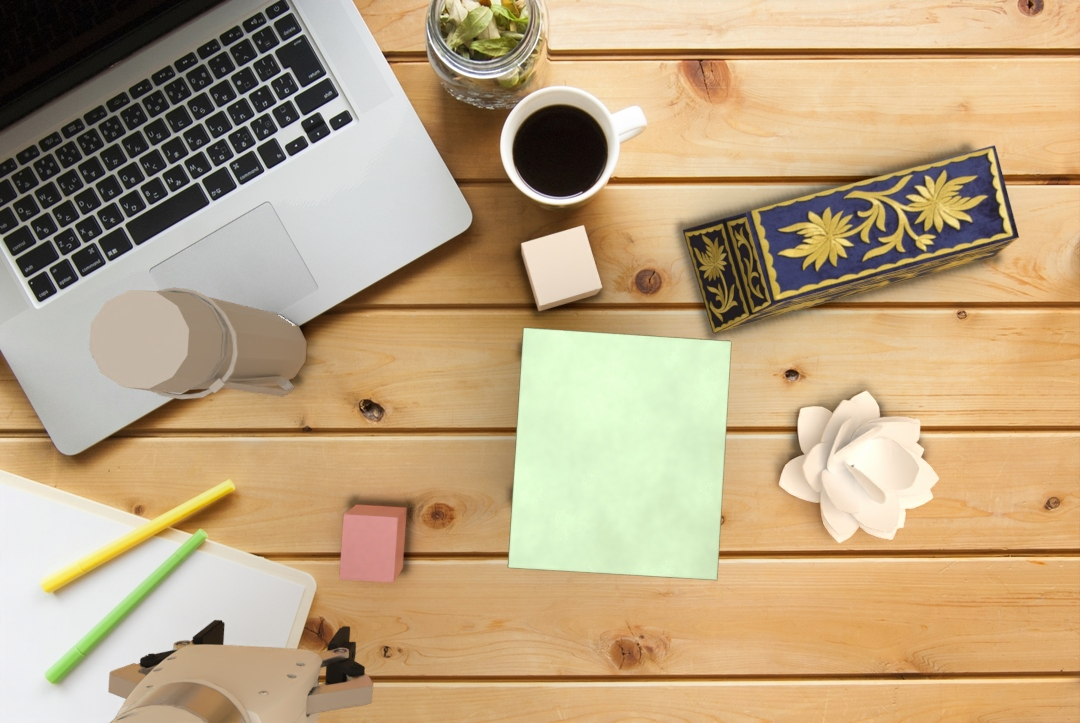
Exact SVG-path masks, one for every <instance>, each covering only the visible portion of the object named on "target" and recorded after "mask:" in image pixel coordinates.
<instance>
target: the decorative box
mask: <svg viewBox="0 0 1080 723" xmlns="http://www.w3.org/2000/svg"><path fill="white" fill-rule="evenodd" d="M682 232H683V235H684V239H685V241H686V243H685V244H686V246H687V250H688V253H689V256H690V260H691V263H692V266H693V270H694V274H695V277H696V281H697V283H698V287H699V290H700V294H701V297H702V301H703V304H704V308H705V311H706V314H707V318H708V321H709V325H710V328H711V332H712V334H716V333H720V332H723V331H727V330H732V329H734V328H735V329H736V328H739V327H742V326H745V325H746V326H747V325H750V324H754V323H756V322H761V321H764V320H768V319H772V318H774V317H778V316H782V315H786V314H790V313H794V312H797V311H800V310H805V309H808V308H812V307H815V306H819V305H823V304H827V303H830V302H833V301H837V300H840V299H845V298H849V297H852V296H856V295H860V294H863V293H867V292H870V291H874V290H878V289H882V288H885V287H889V286H892V285H896V284H900V283H904V282H908V281H910V280H915V279H918V278H921V277H922V278H923V277H927V276H929V275H933V274H936V273H940V272H943V271H947V270H952V269H955V268H959V267H962V266H966V265H969V264H974V263H977V262H981V261H984V260H988V259H992V258H995V257H996V256H997V255H998V254H1000V253H1002V252H1003V251H1004V250H1005V249H1006V248H1007V247H1009V246H1010V245H1012V243H1014V242H1016V241H1017V240H1018V239H1019V238H1020V236H1019V232H1018V227H1017V224H1016V220H1015V216H1014V213H1013V209H1012V205H1011V200H1010V197H1009V194H1008V189H1007V185H1006V182H1005V178H1004V175H1003V171H1002V166H1001V164H1000V158H999V155H998V152H997V147H996V145H995V144H993V145H990V146H985V147H982V148H978V149H975V150H971V151H967V152H963V153H960V154H956V155H952V156H949V157H946V158H942V159H938V160H934V161H931V162H926V163H923V164H919V165H916V166H912V167H908V168H904V169H902V170H897V171H893V172H890V173H886V174H883V175H878V176H875V177H872V178H867V179H863V180H860V181H857V182H852V183H849V184H846V185H842V186H838V187H835V188H831V189H827V190H822V191H820V192H816V193H812V194H808V195H805V196H801V197H797V198H794V199H790V200H786V201H783V202H780V203H775V204H771V205H767V206H764V207H760V208H756V209H753V210H749V211H746V212H742V213H739V214H735V215H732V216H731V215H730V216H728V217H725V218H721V219H717V220H714V221H711V222H706V223H702V224H700V225H696V226H692V227H689V228H685V229H682Z"/></svg>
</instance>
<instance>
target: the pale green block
mask: <svg viewBox="0 0 1080 723" xmlns="http://www.w3.org/2000/svg"><path fill="white" fill-rule="evenodd" d="M732 344H733V343H732V340H728V339H727V340H725V339H709V338H696V337H695V338H694V337H682V336H681V337H680V336H679V337H678V336H664V335H663V336H662V335H651V334H650V335H649V334H633V333H618V332H603V331H587V330H571V329H557V328H543V327H541V328H539V327H526V326H525V327H523V328H522V337H521V351H520V354H521V355H520V367H519V369H520V370H519V384H518V399H517V415H516V416H517V417H516V429H515V443H514V444H515V445H514V446H515V447H514V448H515V449H514V462H513V478H512V490H511V492H512V494H511V507H510V508H511V509H510V524H509V539H508V555H507V569H517V570H531V571H532V570H535V571H550V572H567V573H586V574H600V575H601V574H602V575H618V576H634V577H650V578H652V577H653V578H667V579H685V580H699V581H700V580H701V581H718V578H719V564H720V546H721V544H720V543H721V530H722V528H721V526H722V515H723V514H722V513H723V497H724V496H723V495H724V494H723V493H724V480H725V463H726V462H725V461H726V446H727V444H726V443H727V442H726V441H727V431H728V430H727V427H728V410H729V396H730V394H729V393H730V379H731V378H730V377H731V363H732V362H731V359H732V358H731V357H732V346H733V345H732Z"/></svg>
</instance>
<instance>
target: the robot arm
mask: <svg viewBox="0 0 1080 723" xmlns="http://www.w3.org/2000/svg"><path fill="white" fill-rule="evenodd" d="M225 626H226V624H225V622H224V621H223V620H222V619H214V620H213V621H210V623H208V624H207V625H206V626H205V627H203V628H202V629H201V630H200V631H198V632H197V633H196V634H194V635H193V636H192V639H191V640H190V639H189V640H187V639H183V640H178V641H175V642H174V643H173V645H172V646H173V648H172V649H171V650H166V651H163V652H157V653H148V654H146V655H144V656H142V657H141V658H140V659H139V663H135V662H132V663H130V664H127V665H125V666H120V667H119V668H115V669H113V670H111V671H110V672H109V675H108V693H109V694H111V695H115V696H117V697H119V698H122V699H124V702H123V704H122V705H121V707H120V709H119V710H118V711H117V713H116V715H115V717H114V718H113V719H112V720H111V721H110V722H109V723H318V721H319V718H320V714H321V713H326V712H331V711H338V710H345V709H350V708H355V707H356V708H357V707H361V706H368V705H370V704H372V703H373V698H374V697H373V696H374V681H373V680H372V679H371V677H370V676H369V675H368V674H367V673H365V672H366V667H365V666H364V665H362V664H361V663H360V662H357V661H356V655H357V652H356V651H357V642H356V641H350V638H351V626H347V625H342V627H339V629H338V630H337V631H336V633H335V634H334V635H333V636H332V638H331V639H330V640H329V642H328V643H327V648H326V651H323V652H319V653H317V652H315V651H313V650H310V649H302V648H291V647H275V646H274V647H273V646H255V645H236V644H235V645H231V644H224V640H225ZM322 668H325V679H324V682H322V683H320V674H321V669H322Z"/></svg>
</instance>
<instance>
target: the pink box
mask: <svg viewBox="0 0 1080 723" xmlns="http://www.w3.org/2000/svg"><path fill="white" fill-rule="evenodd" d="M407 511H408V507H406V506H405V507H404V506H389V505H371V504H370V505H369V504H355V505H354V506H352V507H351V508H349V510H347V511H346V512H345V513H343V517H342V534H341V549H340V562H339V563H340V564H339V576H338V579H339V580H341V581H342V580H343V581H358V582H359V581H360V582H376V583H391V584H392V583H395V581H396V580H397V579H398V576H400V573H401V572H402V570H403V568H404V557H405V556H404V555H405V543H406V542H405V541H406V540H405V539H406V529H407V528H406V526H407V513H408V512H407Z"/></svg>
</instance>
